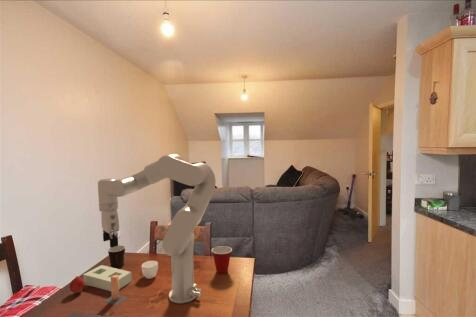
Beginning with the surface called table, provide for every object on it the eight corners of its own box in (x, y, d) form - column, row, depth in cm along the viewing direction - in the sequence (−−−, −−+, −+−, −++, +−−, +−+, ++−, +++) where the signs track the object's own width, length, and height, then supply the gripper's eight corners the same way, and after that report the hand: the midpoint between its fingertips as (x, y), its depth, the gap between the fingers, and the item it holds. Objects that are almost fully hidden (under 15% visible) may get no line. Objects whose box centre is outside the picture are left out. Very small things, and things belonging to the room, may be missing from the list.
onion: (68, 298, 112) (67, 280, 112) (72, 290, 118) (71, 274, 117) (83, 295, 114) (82, 278, 113) (86, 288, 119) (85, 272, 119)
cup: (139, 281, 125) (139, 267, 125) (147, 270, 135) (146, 258, 135) (155, 281, 125) (154, 267, 125) (161, 270, 135) (161, 258, 135)
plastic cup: (234, 266, 138) (233, 245, 137) (230, 277, 127) (230, 254, 127) (214, 265, 140) (214, 244, 139) (209, 275, 129) (208, 252, 128)
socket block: (131, 281, 125) (131, 271, 124) (114, 293, 115) (114, 282, 115) (102, 274, 132) (101, 264, 132) (83, 284, 123) (83, 274, 123)
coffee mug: (113, 262, 145) (113, 245, 144) (128, 262, 145) (128, 245, 144) (102, 272, 134) (101, 254, 133) (118, 273, 133) (117, 254, 133)
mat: (128, 298, 112) (128, 297, 112) (117, 306, 106) (116, 305, 106) (114, 294, 115) (114, 293, 115) (103, 301, 109) (103, 301, 109)
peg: (121, 297, 111) (120, 275, 111) (115, 301, 108) (114, 279, 108) (116, 296, 112) (114, 274, 112) (110, 300, 110) (109, 277, 109)
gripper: (124, 208, 111) (126, 246, 112) (111, 201, 124) (113, 236, 125) (105, 211, 106) (107, 251, 107) (94, 204, 118) (96, 240, 120)
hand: (110, 243), depth 116 cm, fingers open, 9 cm apart
